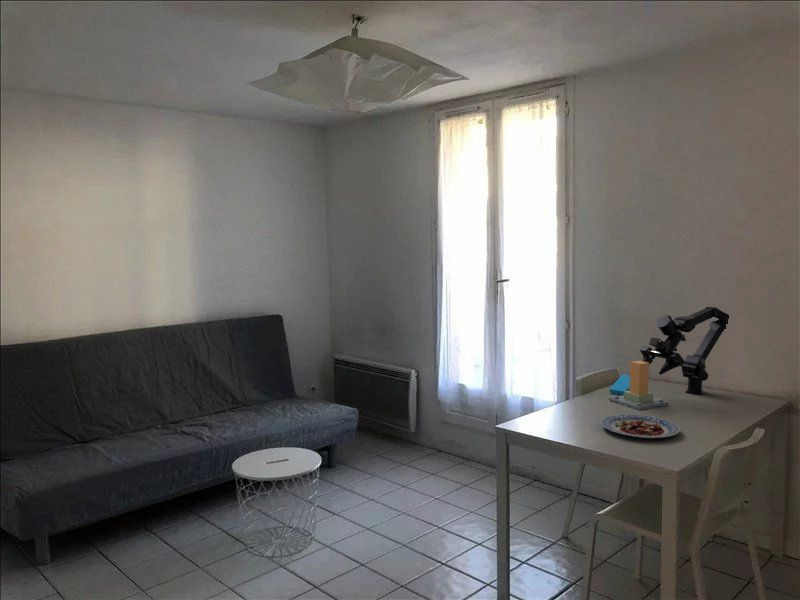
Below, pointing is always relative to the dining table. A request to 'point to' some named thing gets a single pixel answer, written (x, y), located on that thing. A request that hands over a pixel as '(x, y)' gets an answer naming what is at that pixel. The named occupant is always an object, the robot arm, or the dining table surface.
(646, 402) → the tower base
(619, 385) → the blue long block
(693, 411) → the dining table surface
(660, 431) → the ceramic plate
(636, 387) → the orange brick
